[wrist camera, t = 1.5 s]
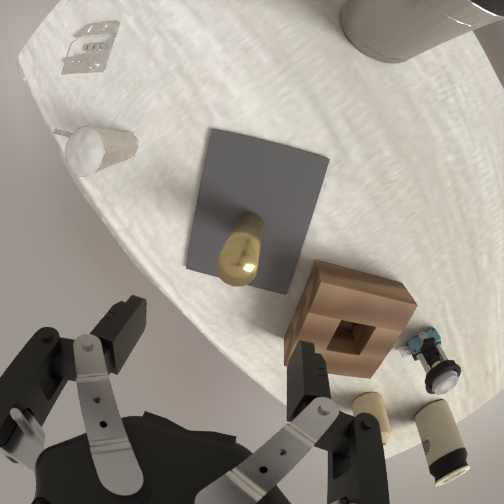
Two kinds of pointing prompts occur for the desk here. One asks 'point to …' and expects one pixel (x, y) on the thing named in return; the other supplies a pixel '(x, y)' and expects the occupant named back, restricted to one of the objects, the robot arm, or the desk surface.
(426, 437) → the travel mug
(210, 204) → the mat
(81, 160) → the milkshake
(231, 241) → the pin
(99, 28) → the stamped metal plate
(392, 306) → the socket block
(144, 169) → the desk surface
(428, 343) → the push button
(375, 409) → the candle
